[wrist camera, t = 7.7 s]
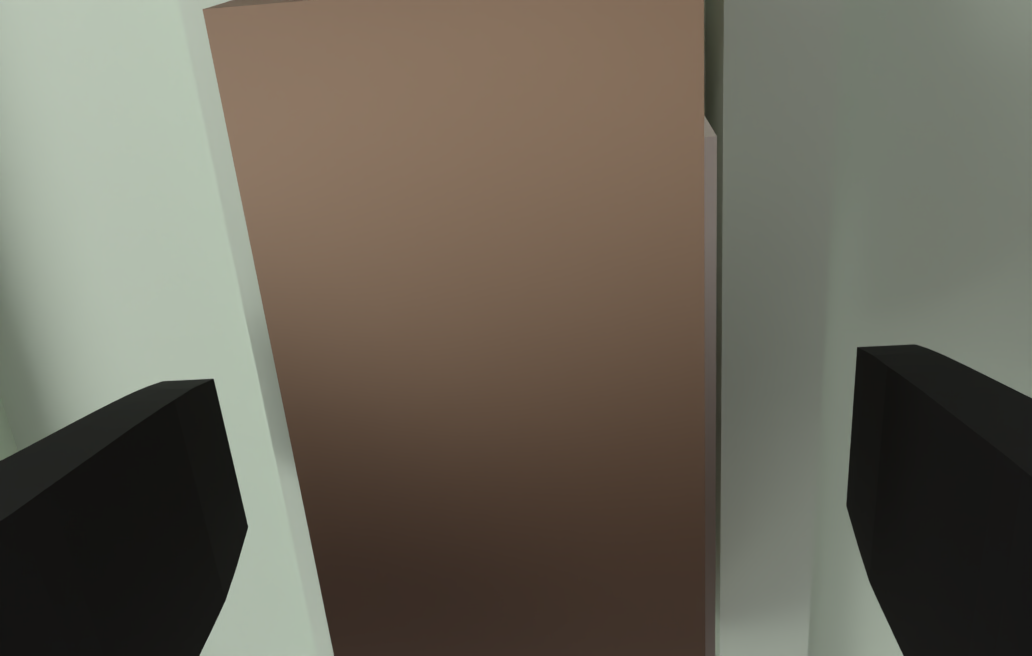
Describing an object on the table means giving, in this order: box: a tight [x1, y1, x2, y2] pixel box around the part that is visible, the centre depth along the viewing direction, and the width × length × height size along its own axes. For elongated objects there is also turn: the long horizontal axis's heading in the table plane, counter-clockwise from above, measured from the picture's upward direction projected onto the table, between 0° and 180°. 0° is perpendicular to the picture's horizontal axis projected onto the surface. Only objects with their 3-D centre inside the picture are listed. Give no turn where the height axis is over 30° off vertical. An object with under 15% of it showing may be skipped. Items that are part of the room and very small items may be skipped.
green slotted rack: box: [0, 0, 1032, 656], centre depth 13 cm, size 20×18×2 cm
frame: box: [202, 0, 717, 656], centre depth 10 cm, size 9×3×6 cm, turn 5°
